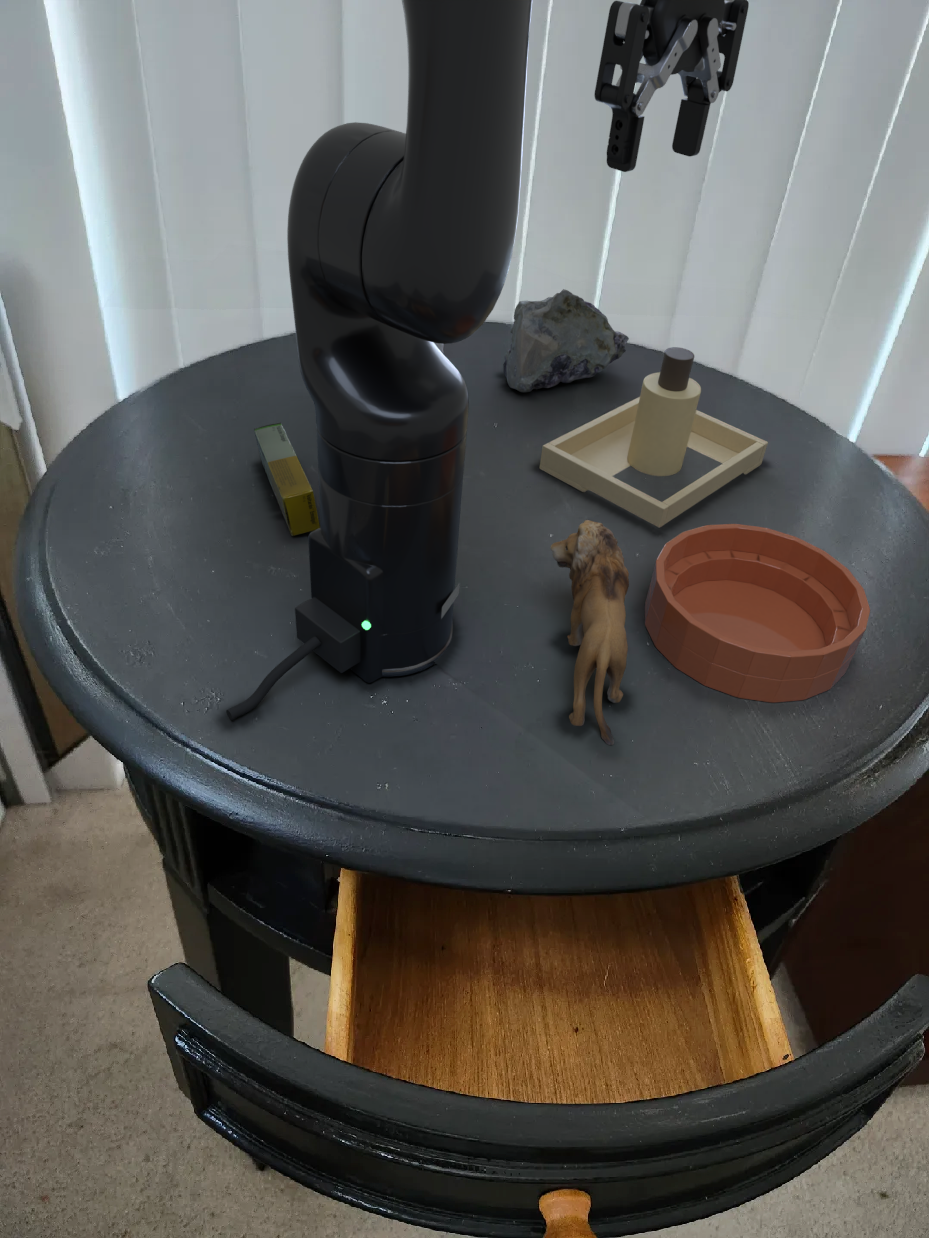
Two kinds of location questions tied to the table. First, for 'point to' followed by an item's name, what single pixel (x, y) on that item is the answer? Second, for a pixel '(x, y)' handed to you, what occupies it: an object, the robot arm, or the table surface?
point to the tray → (604, 451)
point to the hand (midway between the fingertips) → (653, 161)
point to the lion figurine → (596, 615)
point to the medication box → (287, 479)
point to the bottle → (665, 416)
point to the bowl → (755, 612)
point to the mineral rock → (559, 342)
